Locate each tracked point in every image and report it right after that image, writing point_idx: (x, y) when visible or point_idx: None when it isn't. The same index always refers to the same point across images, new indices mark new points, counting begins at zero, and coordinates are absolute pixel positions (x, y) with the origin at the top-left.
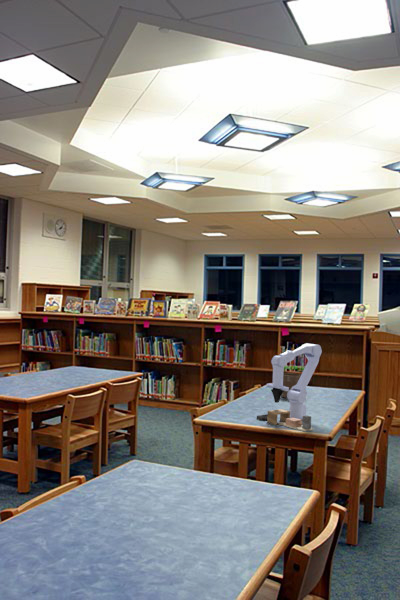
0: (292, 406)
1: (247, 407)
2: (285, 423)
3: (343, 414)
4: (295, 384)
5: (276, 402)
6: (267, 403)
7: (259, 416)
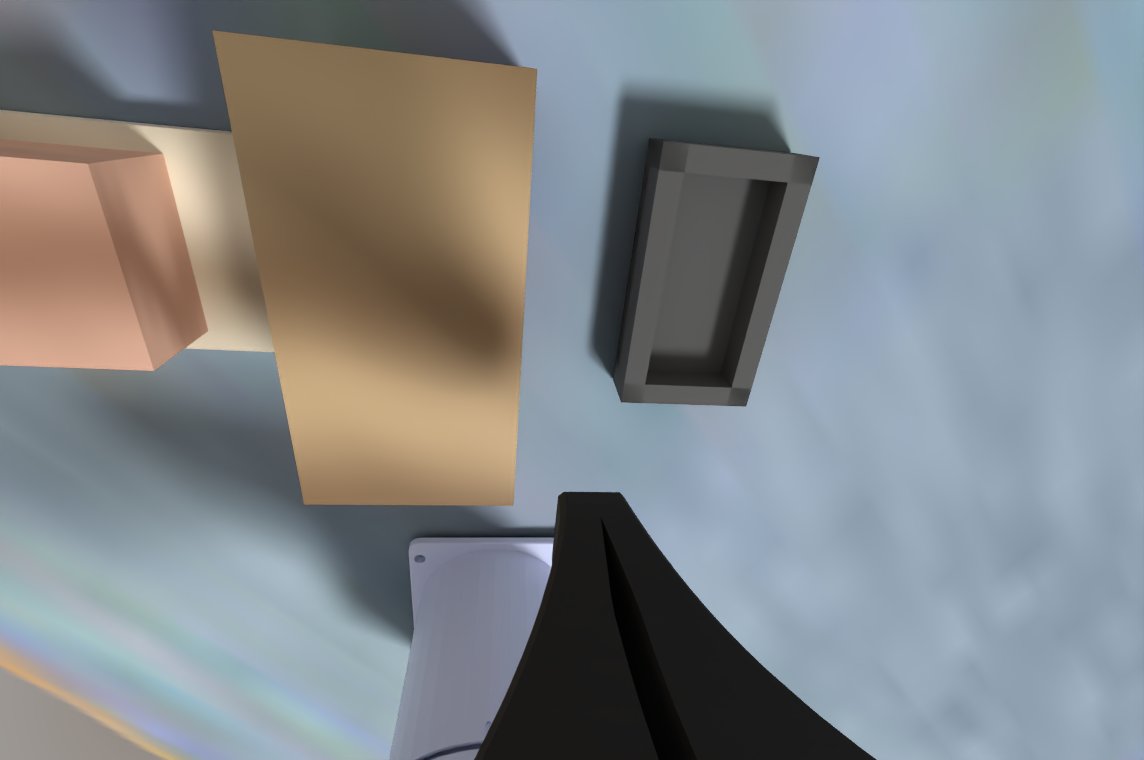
0: (477, 690)
1: (1120, 552)
2: (232, 213)
3: None
4: None
5: (562, 494)
6: (997, 753)
7: (757, 151)
